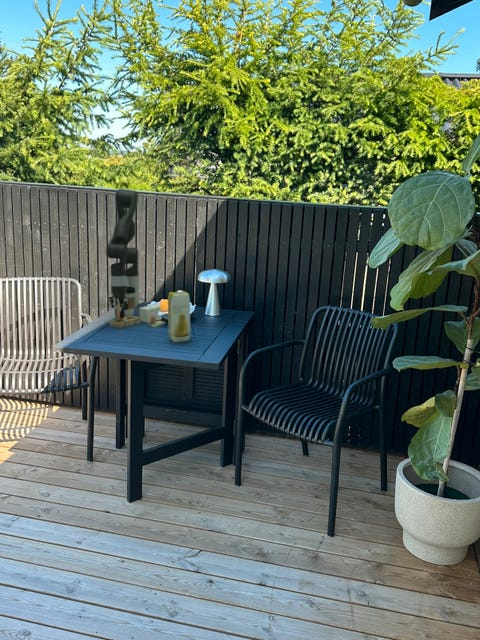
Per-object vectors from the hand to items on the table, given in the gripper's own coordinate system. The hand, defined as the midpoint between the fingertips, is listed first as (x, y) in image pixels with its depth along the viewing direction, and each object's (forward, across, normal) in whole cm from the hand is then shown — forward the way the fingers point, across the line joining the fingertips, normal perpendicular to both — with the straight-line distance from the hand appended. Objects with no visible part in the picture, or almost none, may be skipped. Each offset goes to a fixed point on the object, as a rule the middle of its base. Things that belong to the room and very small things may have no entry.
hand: (119, 317), depth 293 cm
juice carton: (+5, -40, -2) cm, 40 cm away
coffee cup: (+4, +14, -18) cm, 23 cm away
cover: (+4, -4, -18) cm, 18 cm away
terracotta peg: (+1, 0, 0) cm, 1 cm away
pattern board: (+4, -13, -14) cm, 19 cm away
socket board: (+4, 0, -4) cm, 5 cm away
